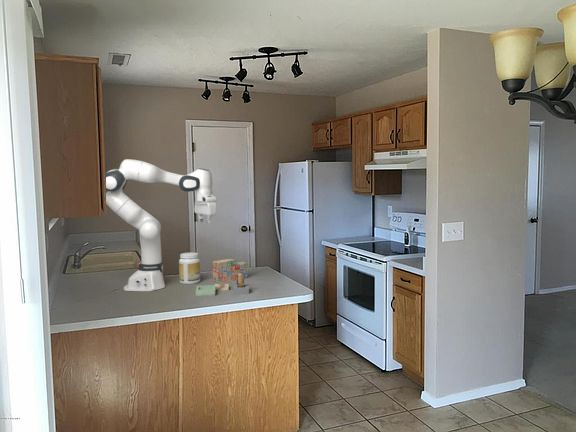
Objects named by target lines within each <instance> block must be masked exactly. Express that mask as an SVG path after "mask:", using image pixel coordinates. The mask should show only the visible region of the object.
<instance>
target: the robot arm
mask: <svg viewBox="0 0 576 432" xmlns="http://www.w3.org/2000/svg"><path fill="white" fill-rule="evenodd" d="M104 174H105V177H106V190H105V191H107V192H105V194H106V203H105V204H106V206H108V207H109V208H110V210H112V211H113V212H114V213H115V214H116V215H118V217H120V218H121V219H122V220H123V221H124V222H126V223H127V224H129V225H130V226H132V227H133V228H135V229H136V230H138V233H139V242H140V243H139V244H140V255H141V256H140V260H141V262H139V263H138V264H137V269H138V270H136V271H135V272H134V273H133V274H131V275H130V276H129V278H128V280H127V284H126V285H125V286H124V287H123V291H126V292H152V291H156V290H161V289H164V288H165V287H166V284H165V280H164V274H163V272H164V265H163V264H164V263H163V260H162V259H163V258H162V242H161V240H162V239H161V230H162V225H161V222H160V221H159V220H158V219H157V218H155V217H154V216H153V215H152V214H150V213H149V212H148V211H146V210H145V209H143V208H142V207H141V206H140V205H138V204H137V203H136V201H135V202H134V200H133V199H131V198H130V197H129V196H127V195H126V193H124V189H125V186H126V185H127V182H128V180H133V181H137V182H140V183H147V184H148V183H150V184H154V183H166V184H169V185H175V186H178V187H179V188H180V190H182V191H183V192H186V193H191V192H194V191H195V192H196V194H195V195H196V198H195V201H194V213H195V214H197V216H198V219H199V220H198V221H199V222H200V223H203V222H204V217H203V215H204V216H206V217H207V220H206V224H212V218H213V216H216V214H217V200H218V199H217V197H216V196H214V194H213V188H212V187H213V175H212V172H211V171H210V170H209V169H206V168H197V169H196V170H194V171H192V172H190V173H186V174H178V173H174V172H171V171H167V170H164V169H162V168H160V167H158V166H156V165H154V164H152V163H149V162H146V161H143V160H140V159H139V160H137V159H131V158H129V159H127V158H125V159H123V161H121V163H120V164H119V167H118V168H113V169H111V170H108V171H107V172H105V173H104Z"/></svg>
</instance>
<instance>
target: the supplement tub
mask: <svg viewBox="0 0 576 432" xmlns="http://www.w3.org/2000/svg"><path fill="white" fill-rule="evenodd" d="M179 258H180V259H179V260H178V273H179V275H178V276H179V283H180V284H181V285H194V284H198V283H199V282H201V260H200V258H199V253H198V252H183V253H180V254H179Z"/></svg>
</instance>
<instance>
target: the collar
mask: <svg viewBox="0 0 576 432" xmlns="http://www.w3.org/2000/svg"><path fill="white" fill-rule="evenodd" d="M233 294H234V295H239V294H242V295H243V294H244V295H245V294H250V285H249V284H244V287H239V288H238V285H237V284H233Z"/></svg>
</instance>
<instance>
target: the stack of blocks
mask: <svg viewBox="0 0 576 432" xmlns="http://www.w3.org/2000/svg"><path fill="white" fill-rule="evenodd" d="M239 273H244V279H247V278H249V263H248V262H246V261H238V262H237V261H236V259H233V258H225V259H218V260H213V261H212V282H214V281H215V282H214V283H217V282H218V283H217V284H221V283H226V282H225V281H227V282H231V281H230V280H232V281H235V280H236V279H237V277H238V274H239ZM236 281H237V280H236ZM220 282H221V283H220Z"/></svg>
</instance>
